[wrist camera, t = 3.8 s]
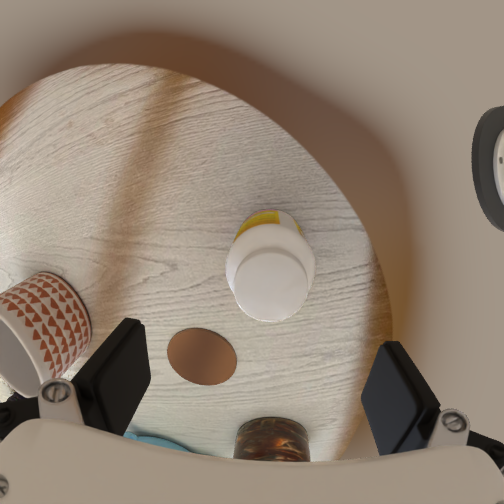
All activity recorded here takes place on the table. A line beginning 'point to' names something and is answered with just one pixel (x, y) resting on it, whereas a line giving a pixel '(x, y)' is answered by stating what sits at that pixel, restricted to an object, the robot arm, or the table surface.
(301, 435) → the jar
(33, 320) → the planter
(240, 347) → the table surface
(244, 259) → the supplement bottle
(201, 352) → the brown coaster
